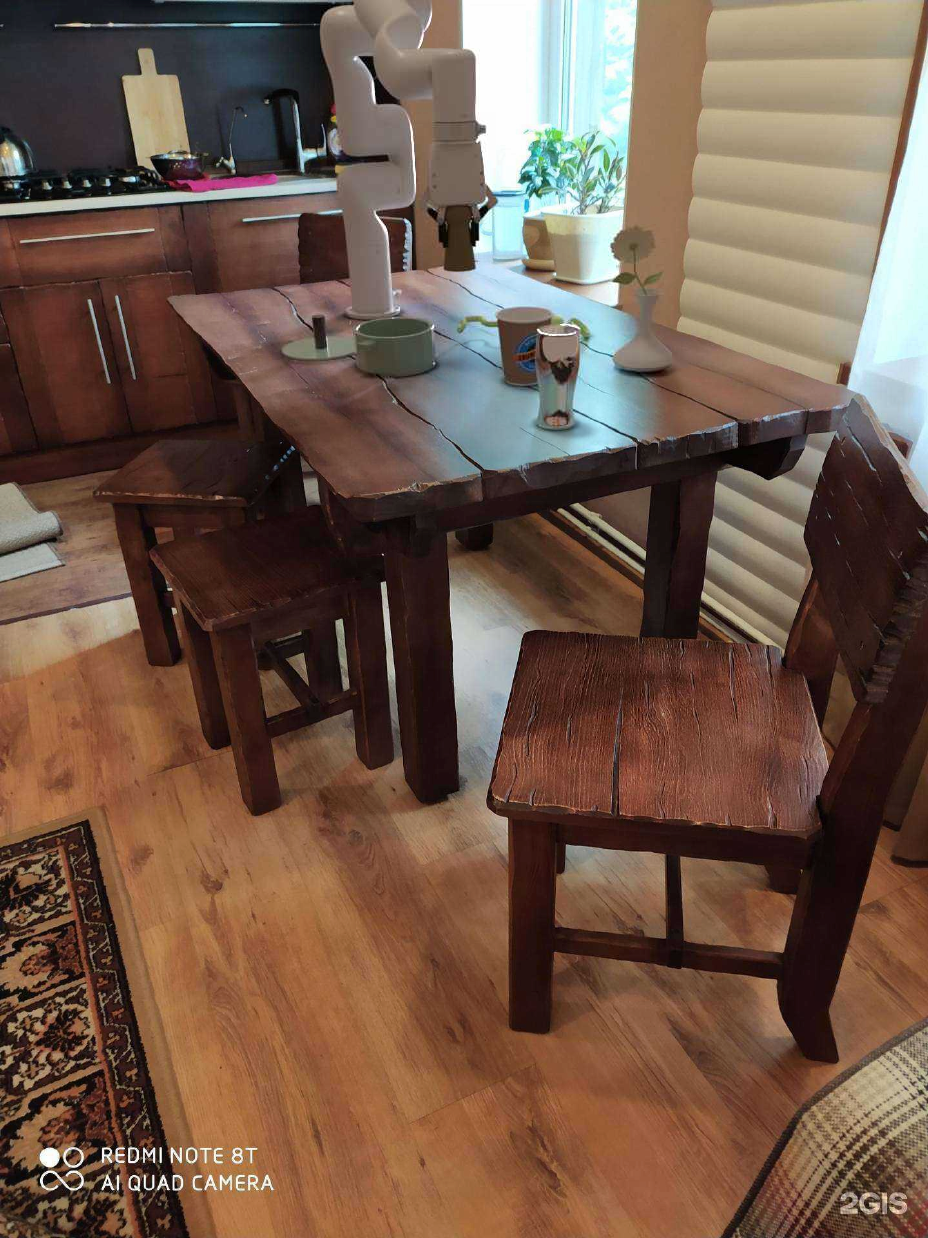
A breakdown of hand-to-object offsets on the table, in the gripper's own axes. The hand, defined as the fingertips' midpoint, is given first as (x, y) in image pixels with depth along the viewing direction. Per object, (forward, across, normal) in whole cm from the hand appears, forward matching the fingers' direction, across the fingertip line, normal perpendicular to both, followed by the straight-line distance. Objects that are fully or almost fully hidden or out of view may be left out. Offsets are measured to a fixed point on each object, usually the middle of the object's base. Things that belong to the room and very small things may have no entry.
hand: (459, 244), depth 165 cm
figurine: (+22, -14, -12) cm, 28 cm away
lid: (+21, +28, -12) cm, 37 cm away
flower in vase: (+22, -33, +10) cm, 40 cm away
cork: (+4, 0, 0) cm, 4 cm away
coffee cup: (+22, -10, +14) cm, 28 cm away
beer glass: (+22, -12, +37) cm, 45 cm away
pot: (+22, +13, 0) cm, 25 cm away
